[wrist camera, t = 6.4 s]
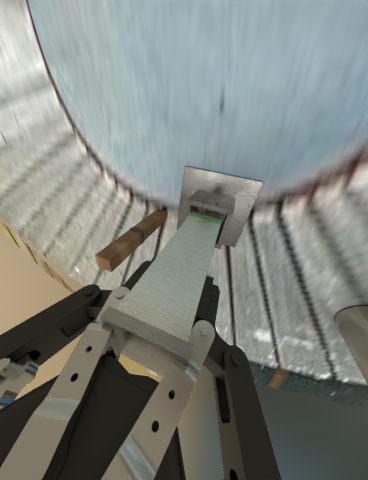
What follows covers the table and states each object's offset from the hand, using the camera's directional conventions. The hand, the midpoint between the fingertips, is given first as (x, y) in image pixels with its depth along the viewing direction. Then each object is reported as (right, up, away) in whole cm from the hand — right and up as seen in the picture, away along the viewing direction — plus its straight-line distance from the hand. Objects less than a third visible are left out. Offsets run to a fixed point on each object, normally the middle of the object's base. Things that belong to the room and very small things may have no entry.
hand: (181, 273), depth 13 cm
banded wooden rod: (-4, +8, +17) cm, 20 cm away
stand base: (+5, +9, +13) cm, 17 cm away
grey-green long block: (+3, +5, +7) cm, 9 cm away
